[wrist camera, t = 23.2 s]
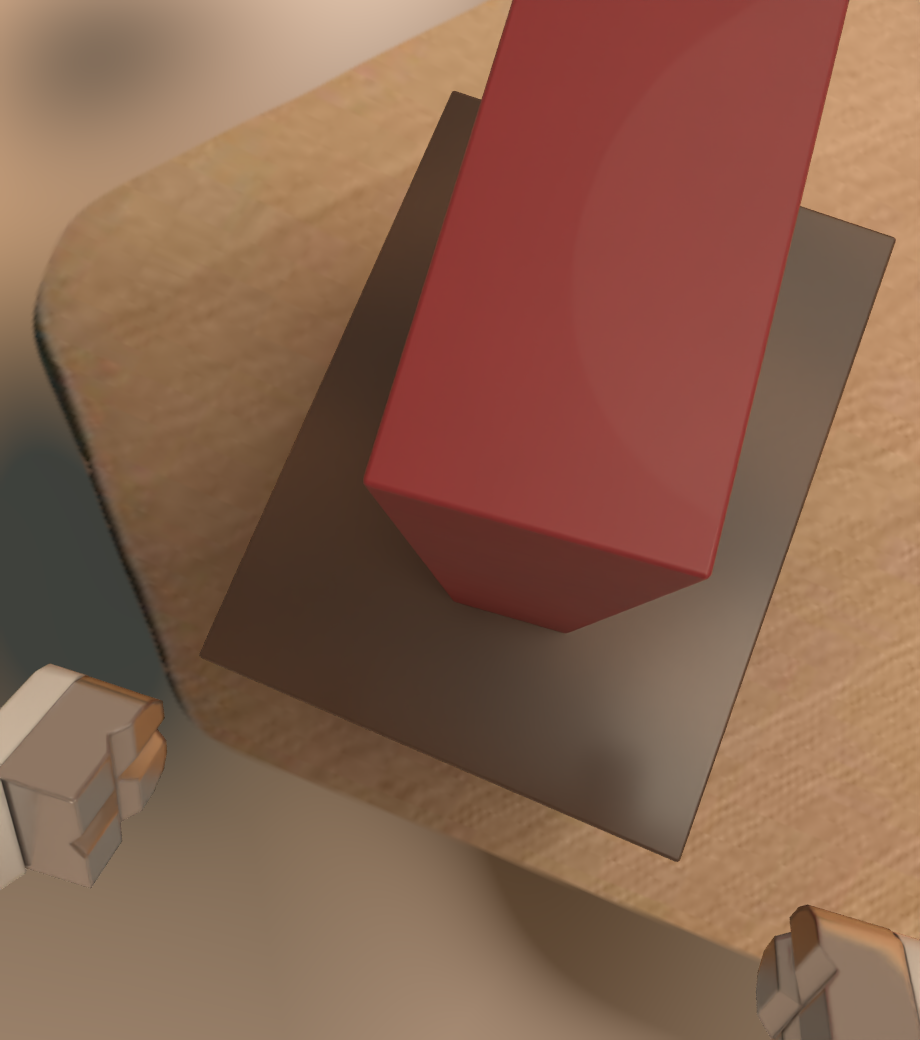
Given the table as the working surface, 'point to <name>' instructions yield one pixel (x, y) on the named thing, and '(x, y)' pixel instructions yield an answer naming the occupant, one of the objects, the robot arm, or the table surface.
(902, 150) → the table surface
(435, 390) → the book
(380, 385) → the bookshelf
